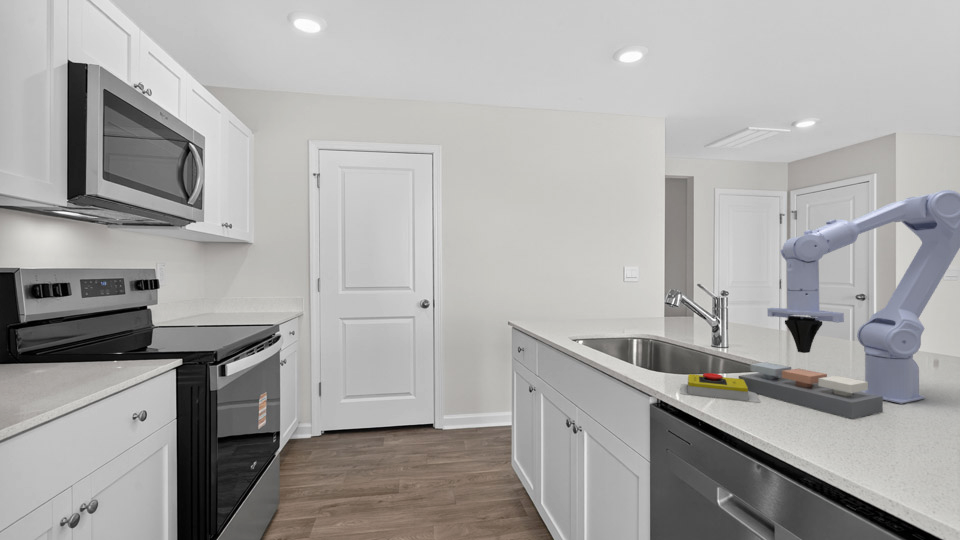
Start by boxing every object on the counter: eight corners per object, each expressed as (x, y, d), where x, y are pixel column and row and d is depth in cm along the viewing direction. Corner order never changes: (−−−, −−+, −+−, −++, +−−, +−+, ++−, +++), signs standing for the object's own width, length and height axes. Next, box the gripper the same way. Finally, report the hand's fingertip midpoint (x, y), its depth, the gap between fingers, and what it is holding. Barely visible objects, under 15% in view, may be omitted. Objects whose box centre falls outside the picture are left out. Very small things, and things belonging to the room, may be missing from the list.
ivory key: (835, 397, 88) (835, 375, 88) (868, 405, 83) (867, 382, 83) (818, 400, 86) (818, 378, 86) (851, 408, 81) (851, 385, 81)
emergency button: (681, 368, 104) (754, 374, 97) (681, 386, 104) (755, 394, 97) (680, 376, 95) (761, 384, 89) (680, 396, 95) (761, 405, 89)
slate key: (766, 381, 101) (766, 362, 101) (791, 386, 96) (791, 367, 96) (750, 383, 99) (750, 364, 99) (775, 389, 94) (774, 369, 94)
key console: (767, 384, 103) (767, 371, 103) (882, 412, 83) (882, 396, 83) (738, 388, 99) (738, 375, 99) (851, 419, 79) (851, 402, 79)
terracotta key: (798, 388, 95) (798, 368, 95) (826, 395, 90) (826, 373, 90) (782, 391, 93) (782, 370, 93) (810, 398, 88) (810, 376, 88)
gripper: (758, 289, 101) (759, 348, 101) (828, 292, 88) (829, 359, 88) (778, 288, 104) (779, 345, 104) (849, 291, 90) (850, 356, 90)
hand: (803, 352), depth 96 cm, fingers closed
